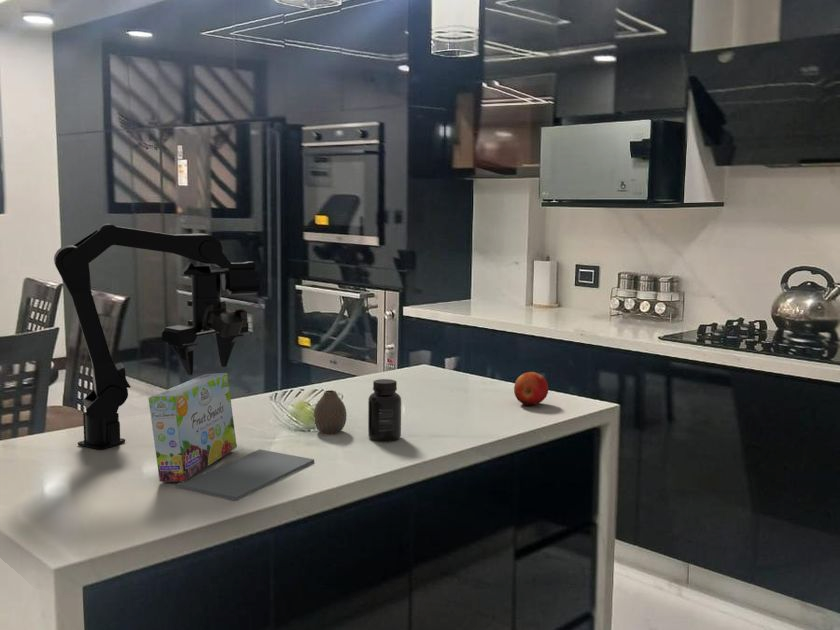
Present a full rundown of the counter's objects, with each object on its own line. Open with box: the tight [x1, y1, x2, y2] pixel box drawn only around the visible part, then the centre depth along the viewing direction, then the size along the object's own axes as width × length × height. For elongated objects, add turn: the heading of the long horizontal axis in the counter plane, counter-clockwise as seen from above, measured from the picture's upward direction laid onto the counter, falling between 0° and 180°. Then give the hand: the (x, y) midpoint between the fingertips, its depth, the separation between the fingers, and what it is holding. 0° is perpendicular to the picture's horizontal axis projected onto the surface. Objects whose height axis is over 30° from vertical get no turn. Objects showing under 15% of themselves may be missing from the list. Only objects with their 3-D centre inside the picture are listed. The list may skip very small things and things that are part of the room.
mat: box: [176, 449, 315, 501], centre depth 150 cm, size 12×23×1 cm, turn 154°
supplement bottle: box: [367, 378, 402, 443], centre depth 174 cm, size 7×7×12 cm
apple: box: [513, 371, 549, 406], centre depth 205 cm, size 8×8×8 cm
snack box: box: [147, 372, 238, 483], centre depth 153 cm, size 21×6×15 cm, turn 168°
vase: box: [313, 390, 347, 435], centre depth 178 cm, size 7×7×9 cm
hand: (207, 370), depth 174 cm, fingers open, 9 cm apart
